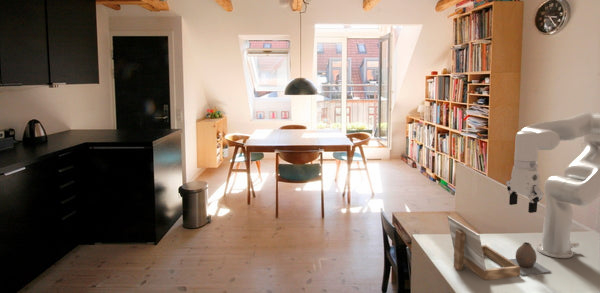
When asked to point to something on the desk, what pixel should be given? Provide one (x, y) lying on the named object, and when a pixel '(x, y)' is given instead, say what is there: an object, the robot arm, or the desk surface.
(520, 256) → the vase
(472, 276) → the desk surface
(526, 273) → the mat
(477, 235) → the frame
